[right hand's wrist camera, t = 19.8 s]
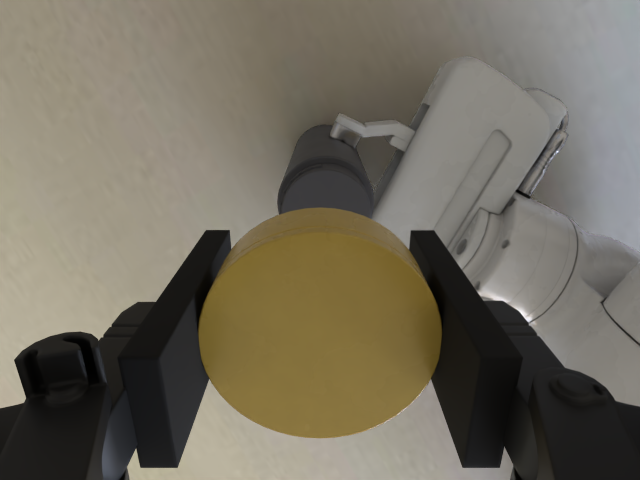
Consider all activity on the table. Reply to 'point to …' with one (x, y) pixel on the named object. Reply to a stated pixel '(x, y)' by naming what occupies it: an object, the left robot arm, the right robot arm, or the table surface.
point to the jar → (325, 176)
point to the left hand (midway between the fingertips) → (312, 169)
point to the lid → (320, 325)
